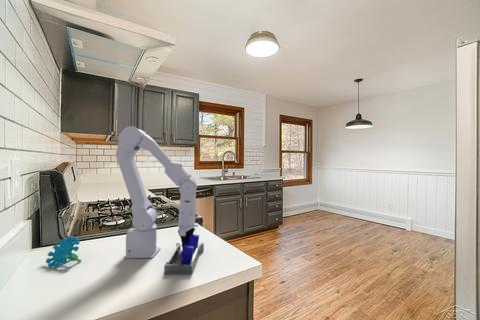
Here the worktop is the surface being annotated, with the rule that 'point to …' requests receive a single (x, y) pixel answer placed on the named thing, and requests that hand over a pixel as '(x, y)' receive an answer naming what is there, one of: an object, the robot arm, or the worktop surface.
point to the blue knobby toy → (63, 252)
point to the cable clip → (189, 249)
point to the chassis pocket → (182, 268)
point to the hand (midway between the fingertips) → (185, 248)
